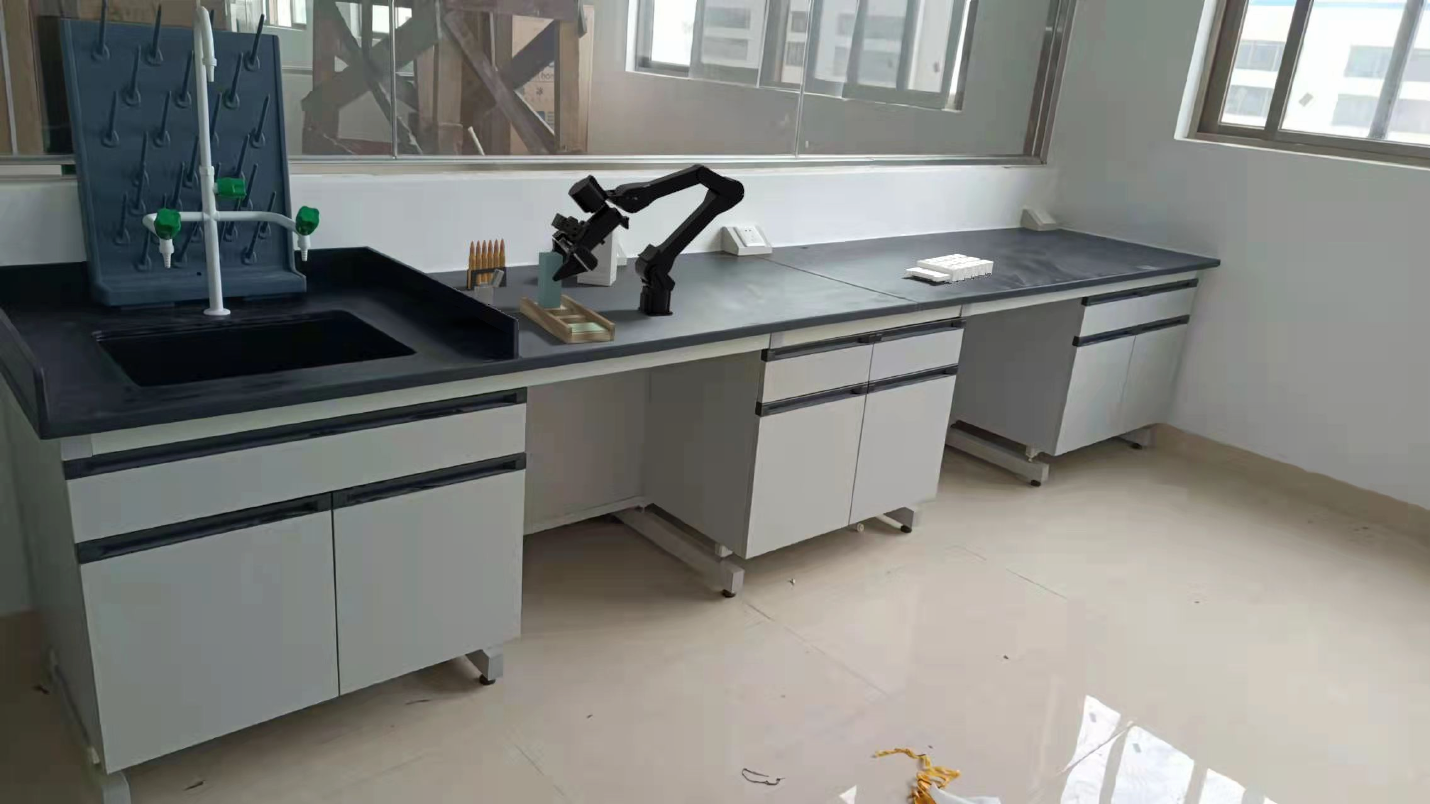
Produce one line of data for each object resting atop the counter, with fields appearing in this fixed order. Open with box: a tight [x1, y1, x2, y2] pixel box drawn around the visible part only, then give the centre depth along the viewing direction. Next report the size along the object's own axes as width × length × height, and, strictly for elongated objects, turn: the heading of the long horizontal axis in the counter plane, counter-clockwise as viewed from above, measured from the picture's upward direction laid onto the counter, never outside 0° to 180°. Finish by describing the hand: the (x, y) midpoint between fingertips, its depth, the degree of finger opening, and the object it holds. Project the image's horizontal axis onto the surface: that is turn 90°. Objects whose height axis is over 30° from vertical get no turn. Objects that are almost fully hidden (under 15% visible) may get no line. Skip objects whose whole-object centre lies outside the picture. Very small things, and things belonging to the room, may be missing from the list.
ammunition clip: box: [466, 238, 508, 292], centre depth 245 cm, size 11×2×12 cm, turn 138°
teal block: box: [536, 251, 563, 309], centre depth 226 cm, size 4×4×12 cm
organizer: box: [904, 253, 994, 282], centre depth 317 cm, size 13×5×35 cm
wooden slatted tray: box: [519, 294, 616, 345], centre depth 221 cm, size 11×26×4 cm, turn 32°
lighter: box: [473, 269, 504, 306], centre depth 231 cm, size 7×2×8 cm, turn 138°
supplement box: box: [576, 225, 620, 287], centre depth 262 cm, size 9×9×15 cm
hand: (547, 275), depth 225 cm, fingers open, 9 cm apart
